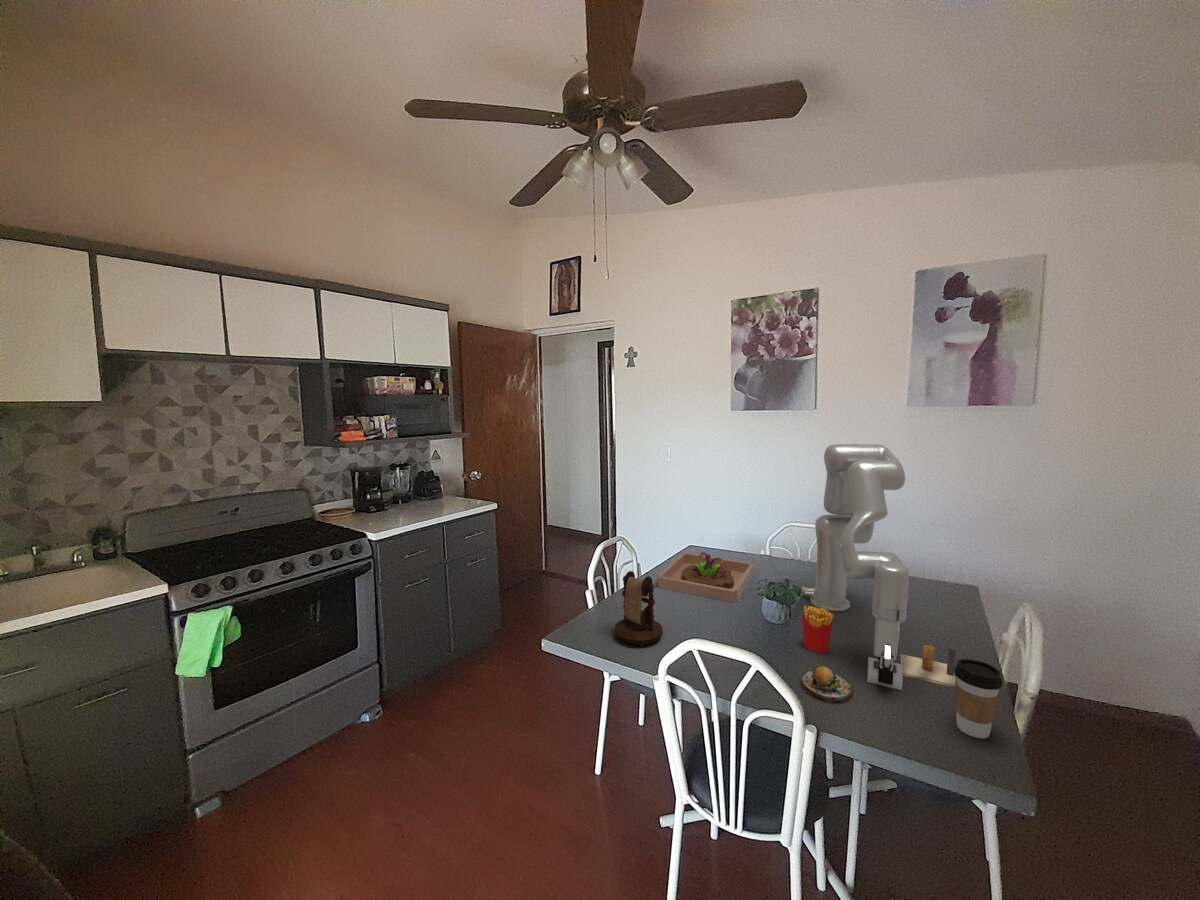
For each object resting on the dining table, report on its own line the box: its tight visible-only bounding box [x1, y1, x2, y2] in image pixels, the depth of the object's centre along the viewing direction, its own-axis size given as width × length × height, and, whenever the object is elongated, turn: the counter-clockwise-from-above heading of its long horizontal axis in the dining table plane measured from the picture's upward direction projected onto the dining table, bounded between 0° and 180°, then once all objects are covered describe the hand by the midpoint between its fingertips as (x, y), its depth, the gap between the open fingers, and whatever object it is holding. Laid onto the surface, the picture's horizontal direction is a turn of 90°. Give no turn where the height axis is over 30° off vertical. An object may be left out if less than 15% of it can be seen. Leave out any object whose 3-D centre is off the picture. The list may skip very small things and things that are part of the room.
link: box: [867, 656, 904, 691], centre depth 128 cm, size 8×6×4 cm
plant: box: [682, 551, 734, 588], centre depth 193 cm, size 20×20×11 cm
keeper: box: [899, 644, 957, 689], centre depth 131 cm, size 12×10×8 cm
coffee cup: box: [954, 658, 1003, 739], centre depth 109 cm, size 8×8×15 cm
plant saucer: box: [657, 552, 755, 603], centre depth 194 cm, size 30×30×4 cm
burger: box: [800, 665, 854, 704], centre depth 125 cm, size 12×12×8 cm
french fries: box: [801, 605, 834, 654], centre depth 143 cm, size 8×4×12 cm, turn 42°
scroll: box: [614, 570, 664, 648], centre depth 151 cm, size 15×15×20 cm
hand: (884, 672), depth 128 cm, fingers open, 9 cm apart
